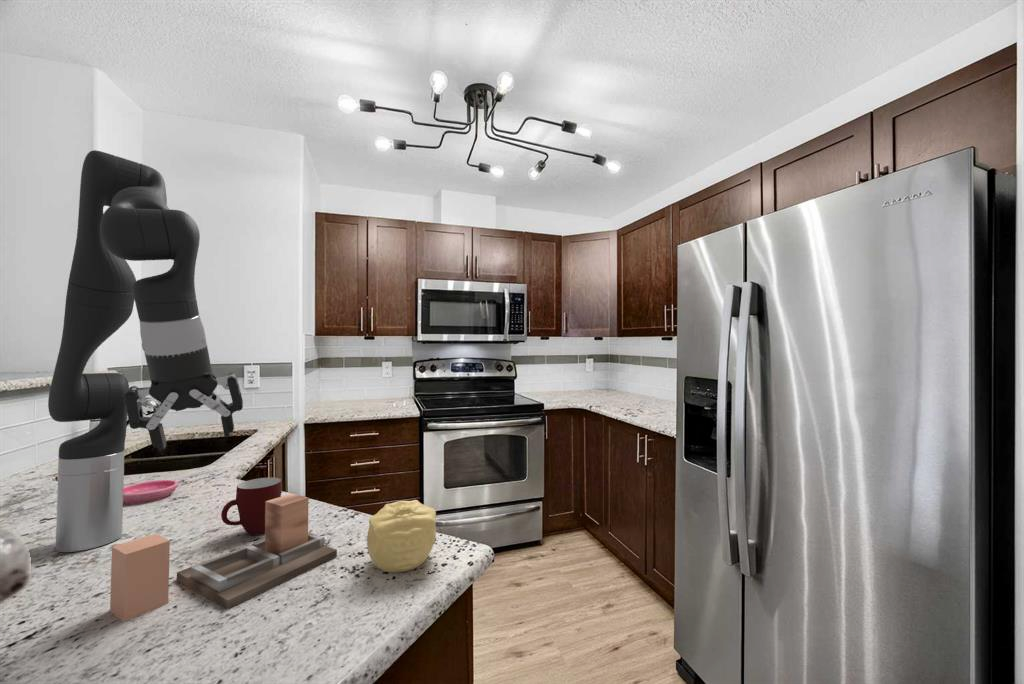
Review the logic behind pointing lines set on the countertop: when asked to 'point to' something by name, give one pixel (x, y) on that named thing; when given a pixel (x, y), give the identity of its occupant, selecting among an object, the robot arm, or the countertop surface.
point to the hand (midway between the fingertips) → (196, 441)
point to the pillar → (139, 576)
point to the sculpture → (401, 535)
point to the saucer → (148, 491)
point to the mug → (253, 503)
